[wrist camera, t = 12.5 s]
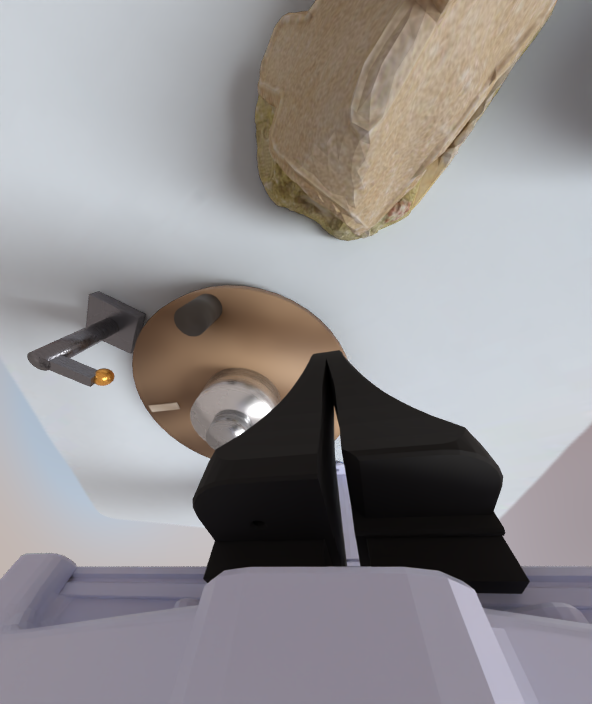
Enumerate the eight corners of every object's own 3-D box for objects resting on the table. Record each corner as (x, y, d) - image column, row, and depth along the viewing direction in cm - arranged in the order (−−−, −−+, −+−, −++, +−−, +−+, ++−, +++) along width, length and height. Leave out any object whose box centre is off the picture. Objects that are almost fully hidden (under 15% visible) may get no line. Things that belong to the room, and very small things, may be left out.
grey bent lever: (158, 357, 23) (100, 406, 16) (94, 328, 21) (7, 370, 15) (167, 324, 21) (106, 366, 15) (98, 291, 20) (1, 321, 14)
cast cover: (287, 424, 22) (282, 468, 18) (220, 429, 23) (200, 472, 19) (271, 363, 19) (260, 400, 15) (193, 372, 20) (163, 409, 16)
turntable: (357, 453, 25) (365, 491, 22) (191, 462, 28) (173, 498, 25) (342, 263, 16) (351, 274, 12) (97, 307, 19) (44, 326, 15)
